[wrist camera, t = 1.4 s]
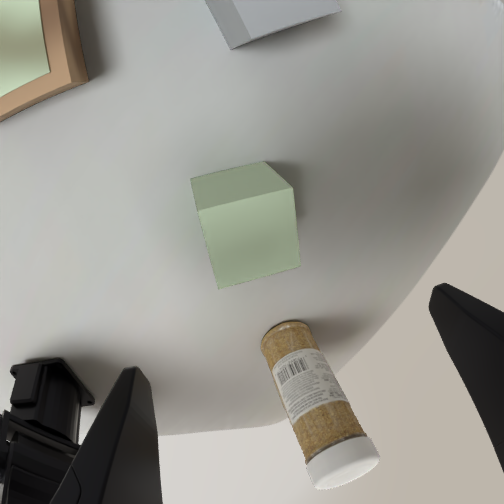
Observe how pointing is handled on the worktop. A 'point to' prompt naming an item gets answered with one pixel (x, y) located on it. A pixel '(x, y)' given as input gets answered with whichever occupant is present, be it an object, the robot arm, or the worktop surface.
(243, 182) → the sage block
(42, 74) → the base block
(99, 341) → the worktop surface
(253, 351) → the worktop surface
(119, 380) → the robot arm
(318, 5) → the slate block
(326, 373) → the sprinkles bottle
